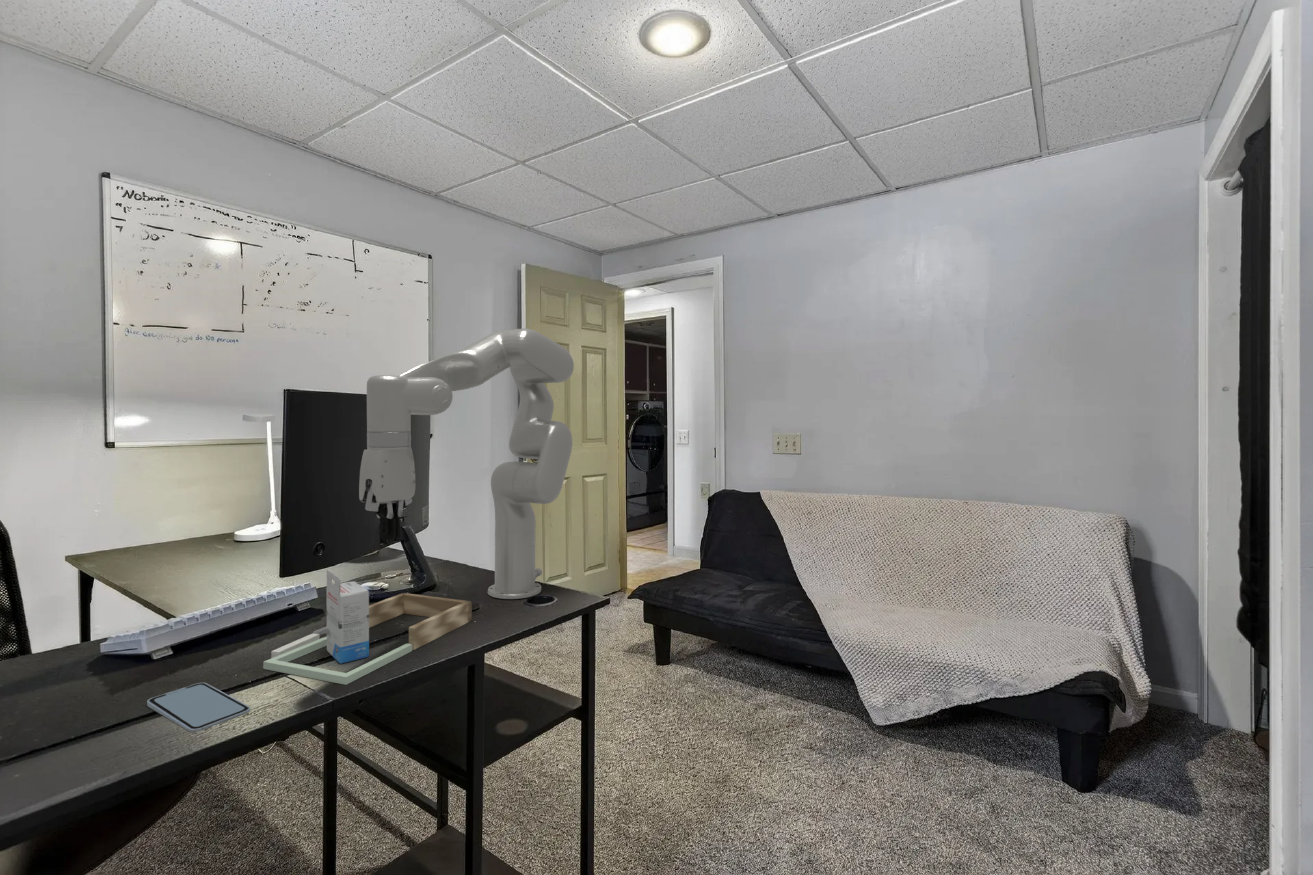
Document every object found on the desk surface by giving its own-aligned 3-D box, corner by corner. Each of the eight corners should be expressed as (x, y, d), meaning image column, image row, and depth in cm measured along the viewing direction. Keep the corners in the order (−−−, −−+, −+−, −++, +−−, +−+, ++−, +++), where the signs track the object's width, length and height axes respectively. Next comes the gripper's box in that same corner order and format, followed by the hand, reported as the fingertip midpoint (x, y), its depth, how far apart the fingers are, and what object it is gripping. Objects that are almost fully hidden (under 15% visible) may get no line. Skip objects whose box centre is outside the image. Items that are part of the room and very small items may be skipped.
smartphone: (192, 731, 78) (144, 700, 86) (192, 738, 78) (144, 706, 86) (253, 708, 85) (203, 681, 92) (253, 714, 85) (203, 687, 92)
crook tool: (363, 617, 125) (363, 612, 125) (382, 620, 123) (381, 615, 123) (313, 636, 114) (313, 631, 114) (333, 640, 112) (333, 634, 112)
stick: (312, 641, 112) (312, 633, 112) (319, 642, 111) (319, 634, 111) (271, 660, 103) (271, 651, 103) (279, 661, 103) (278, 652, 103)
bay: (336, 638, 113) (336, 632, 113) (412, 650, 107) (412, 644, 107) (263, 668, 99) (263, 661, 99) (346, 684, 93) (346, 677, 93)
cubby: (403, 611, 129) (403, 592, 129) (471, 620, 124) (471, 601, 124) (338, 637, 113) (338, 616, 113) (414, 649, 108) (414, 627, 107)
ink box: (370, 657, 104) (370, 573, 104) (339, 664, 101) (339, 578, 100) (355, 643, 110) (355, 564, 110) (325, 650, 107) (325, 568, 107)
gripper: (401, 439, 121) (402, 529, 121) (341, 442, 106) (342, 544, 107) (432, 440, 118) (432, 532, 119) (374, 443, 104) (375, 548, 105)
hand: (389, 538), depth 113 cm, fingers closed
